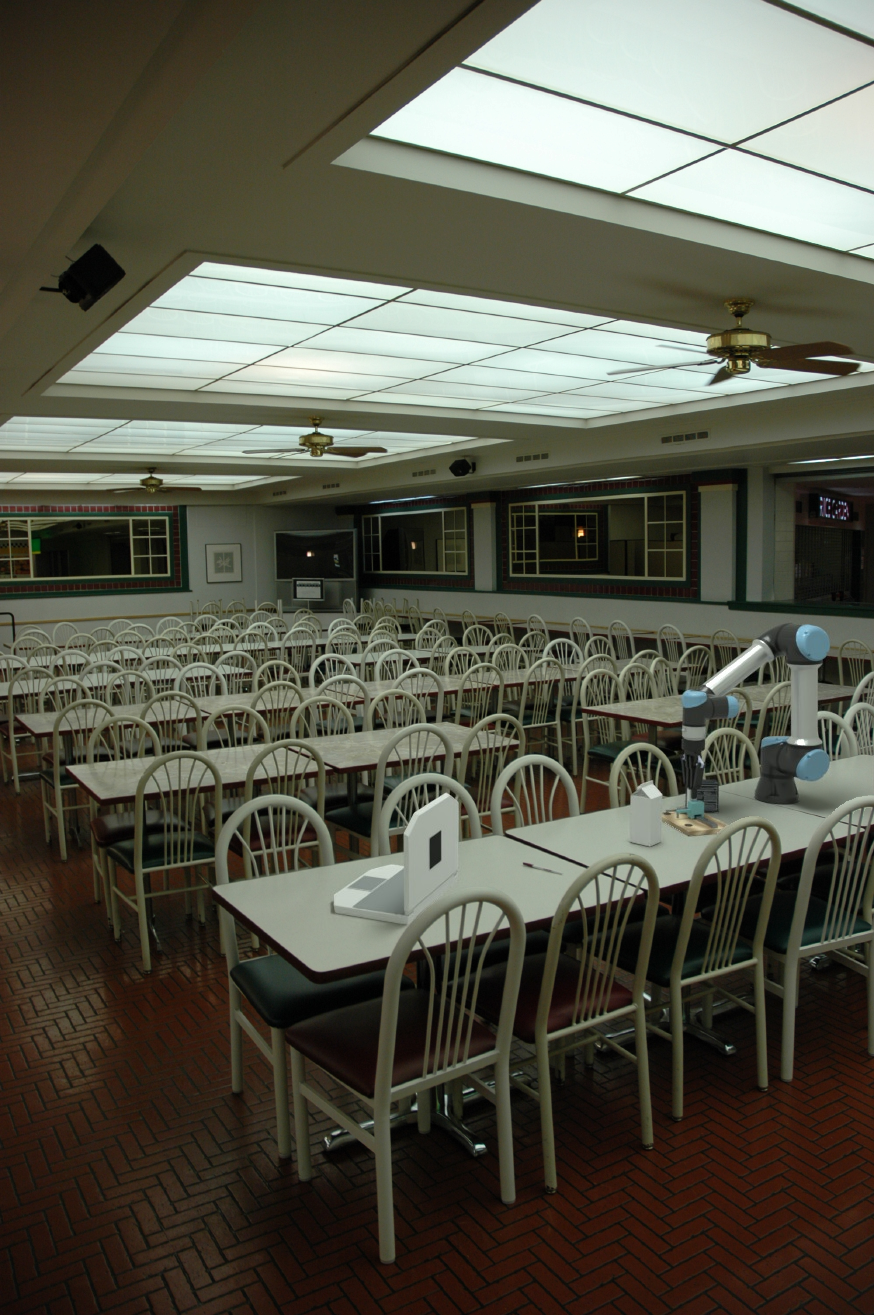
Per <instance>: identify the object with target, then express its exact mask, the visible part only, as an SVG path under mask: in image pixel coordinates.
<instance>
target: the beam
mask: <svg viewBox="0 0 874 1315" xmlns="http://www.w3.org/2000/svg"><path fill="white" fill-rule="evenodd" d="M687 808H688V807H685V806H683V807H681V806H680V807H676V808H673V809H671V808H670V809H665V812H666V814H668V812H676V810H684V809H687ZM680 814H686V815H687V812H686V813H680ZM694 819H695V820H697V821H699V822H701V823H703V824H705V825H707V826H709V827H710V828H718V824H716V823H714V822H712V821H710V820H709V819H707V818H705V817H703V816H701V815H694Z"/></svg>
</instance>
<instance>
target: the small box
mask: <svg viewBox="0 0 874 1315" xmlns="http://www.w3.org/2000/svg"><path fill="white" fill-rule="evenodd" d="M719 787H720V783H719V781H717V780H716V779H704V778H703V780H702V786H701V788H699V789H697V800H700V801H702V802H704V813H714V812H718V813H719V812H720V810H719V809H720V808H719V806H720V805H719V803H720V802H719V800H720V798H719V795H720V793H719V792H720V791H719V790H720V788H719ZM684 802H685V806H684V807H687V787H686V786H685V801H684Z"/></svg>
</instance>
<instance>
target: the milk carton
mask: <svg viewBox="0 0 874 1315" xmlns="http://www.w3.org/2000/svg"><path fill="white" fill-rule="evenodd" d="M629 806H630V811H629V843H633V844H637V845H643V846H645V847H652V846H654V845H657V844H660V843H661V842H662V833H663V832H662V831H663V830H662V827H663V821H662V812H663V793H661V791H660V790H659V789H658V788H657V786H655V785H654V780H649V781H646V782H643V783H641V784H640V785H638V786H636V791H634V792H633V793H632V794H630V805H629Z"/></svg>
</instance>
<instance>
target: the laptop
mask: <svg viewBox="0 0 874 1315" xmlns="http://www.w3.org/2000/svg"><path fill="white" fill-rule="evenodd" d="M459 803H460V802H459V801H458V800H456V798H454V797H453V796H452V795H450V794H449V793H448V792H445V793H443V794H442V795H439V797H436V798H435V799H434V800H431V801H430V802H429V803H427V804H426V805H423V807H421V808H420V809H417V810H416V811H415V812H414V813H413V814H412V816H411V818H410V821H409V822H408V824H407V826H406V828H405V830H404V832H403V865H399V864H386V865H383V866H379V867H376V868H370V869H369V870H367V871H366V872H365V873H363V874H362V875H360V876H359V877H357V878H356V879H354V880H353V881H351V882H350V883H349V884H347V885H346V886H344V887H342V889H340V890H339V891H337V892H336V893H334V894H333V907H334V908H333V909H334V913H335V914H339V915H345V916H350V917H351V916H352V917H357V918H358V917H359V918H365V919H370V920H376V921H382V922H389V923H394V924H401V925H405V926H406V925H407V926H408V925H409V926H410V924H411V923H412V922H413V921H414V920H415V919H416V918H415V917H416V916H417V915H418V914H419V913H420V912H421V911H422V910H423V909H424V908H425V907H427V906H428V905H429V904H430V903H432V902H433V901H434V902H436V901H437V900H438V899H439V898H440V897H441V896H442V895H444V894H445V893H446V892H447V891H449V889H450V888H451V887H452V886H454V885H455V884H456V883H457V882H458V881H459V869H460V867H459V866H460V865H459V863H460V862H459V860H460V858H459V852H460V851H459V850H460V849H459V842H460V840H459V839H460V838H459V837H460V836H459V833H460V832H459V830H460V829H459V826H460V825H459V822H460V820H459V816H460V815H459V814H460V812H459V810H460V809H459V808H460V806H459V805H460V804H459ZM436 899H437V900H436ZM435 900H436V901H435ZM434 902H433V903H434ZM433 903H432V904H433ZM414 918H415V919H414ZM413 919H414V920H413Z"/></svg>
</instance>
